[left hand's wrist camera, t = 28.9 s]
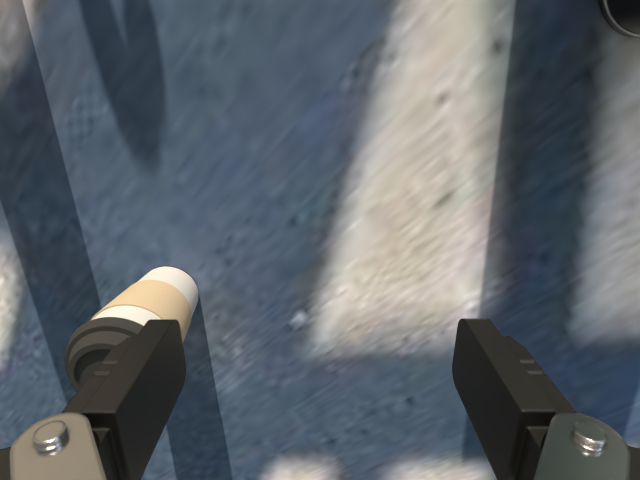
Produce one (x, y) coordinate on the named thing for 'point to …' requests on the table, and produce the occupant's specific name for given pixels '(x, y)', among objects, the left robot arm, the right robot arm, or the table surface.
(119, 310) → the coffee cup
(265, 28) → the table surface
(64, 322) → the table surface
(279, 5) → the table surface
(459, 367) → the left robot arm
